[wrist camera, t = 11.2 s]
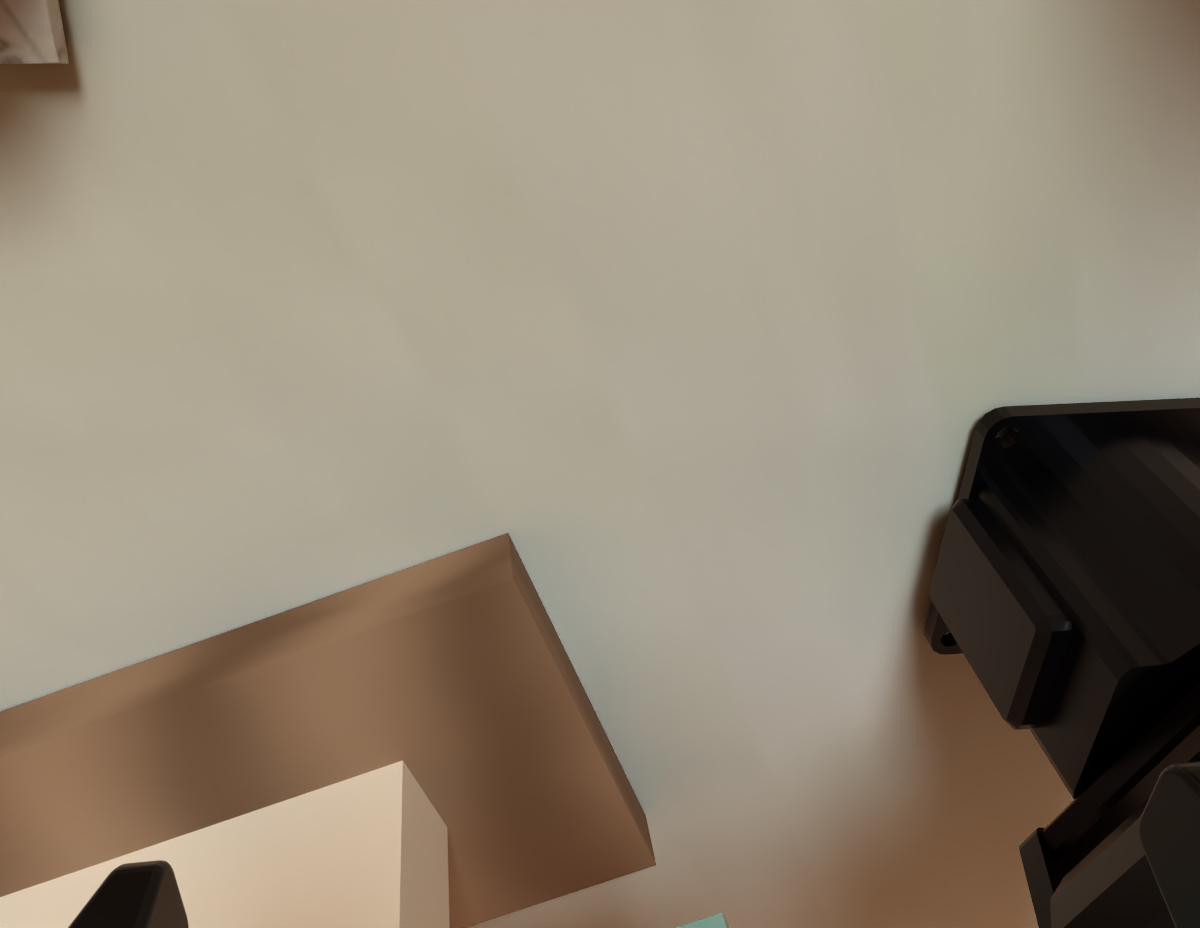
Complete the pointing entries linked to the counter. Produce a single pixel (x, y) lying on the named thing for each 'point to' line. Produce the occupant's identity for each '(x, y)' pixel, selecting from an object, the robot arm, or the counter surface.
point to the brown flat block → (341, 737)
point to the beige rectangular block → (290, 864)
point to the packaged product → (31, 32)
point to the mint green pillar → (708, 922)
